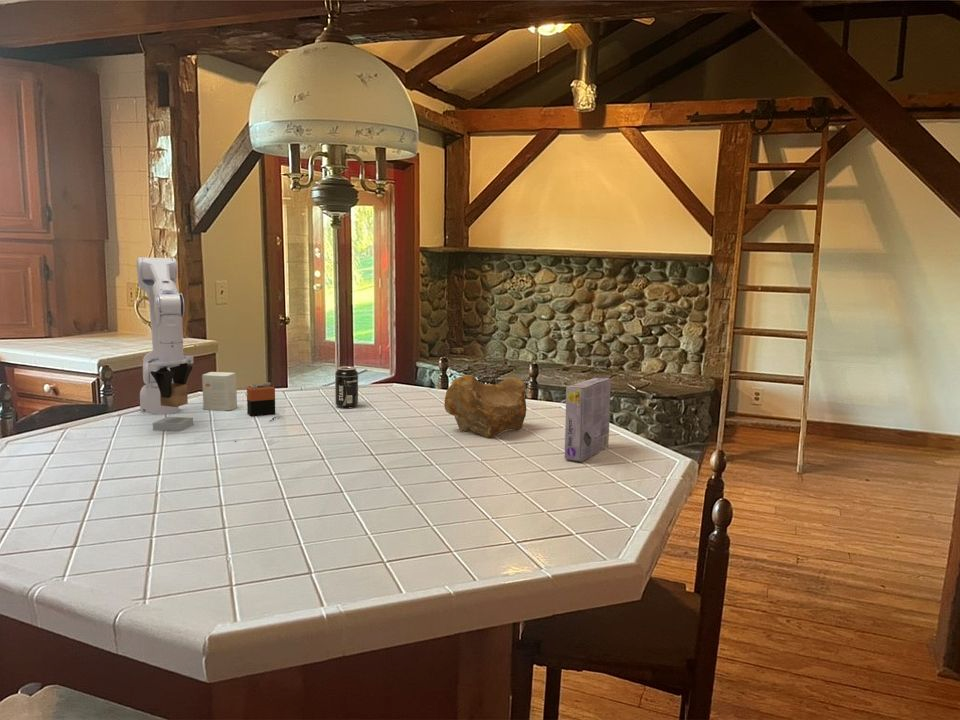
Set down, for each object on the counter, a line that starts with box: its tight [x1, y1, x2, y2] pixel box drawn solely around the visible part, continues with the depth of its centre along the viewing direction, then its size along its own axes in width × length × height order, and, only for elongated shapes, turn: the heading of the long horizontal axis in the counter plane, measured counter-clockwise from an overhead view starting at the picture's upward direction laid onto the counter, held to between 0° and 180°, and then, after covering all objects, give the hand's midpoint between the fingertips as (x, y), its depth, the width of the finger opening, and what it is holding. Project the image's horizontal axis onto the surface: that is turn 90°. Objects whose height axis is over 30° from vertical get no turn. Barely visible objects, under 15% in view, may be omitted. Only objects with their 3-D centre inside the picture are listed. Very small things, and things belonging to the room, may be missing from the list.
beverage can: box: [334, 365, 359, 409], centre depth 215 cm, size 7×7×12 cm
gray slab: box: [152, 416, 194, 432], centre depth 180 cm, size 7×7×2 cm
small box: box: [201, 371, 238, 411], centre depth 208 cm, size 8×6×10 cm
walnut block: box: [160, 383, 189, 407], centre depth 179 cm, size 4×4×5 cm
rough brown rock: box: [444, 374, 527, 439], centre depth 188 cm, size 23×17×15 cm
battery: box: [246, 382, 276, 420], centre depth 196 cm, size 4×7×10 cm, turn 122°
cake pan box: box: [564, 377, 612, 463], centre depth 170 cm, size 19×5×18 cm, turn 149°
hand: (172, 395), depth 179 cm, fingers closed on walnut block, 4 cm apart
